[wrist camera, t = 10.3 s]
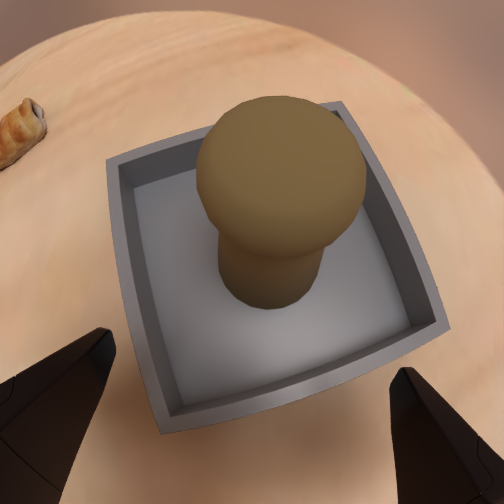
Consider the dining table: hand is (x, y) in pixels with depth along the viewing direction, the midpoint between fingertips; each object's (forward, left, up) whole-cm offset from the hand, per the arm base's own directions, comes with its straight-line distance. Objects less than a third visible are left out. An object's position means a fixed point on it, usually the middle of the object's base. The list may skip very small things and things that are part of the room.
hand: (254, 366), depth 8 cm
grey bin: (+3, +5, -9) cm, 11 cm away
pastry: (-18, +25, -10) cm, 32 cm away
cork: (+3, +5, -8) cm, 10 cm away
